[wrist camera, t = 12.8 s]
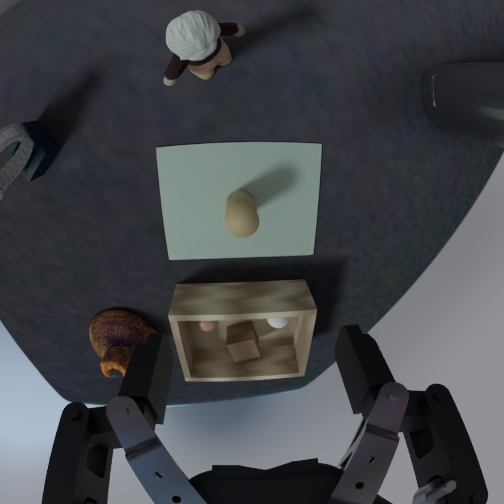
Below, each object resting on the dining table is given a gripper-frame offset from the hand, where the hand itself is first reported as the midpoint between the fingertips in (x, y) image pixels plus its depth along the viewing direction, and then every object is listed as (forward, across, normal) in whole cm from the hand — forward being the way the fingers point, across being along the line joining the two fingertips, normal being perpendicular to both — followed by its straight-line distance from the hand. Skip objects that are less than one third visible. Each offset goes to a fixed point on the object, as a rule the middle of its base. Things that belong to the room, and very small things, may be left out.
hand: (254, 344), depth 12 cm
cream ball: (+19, -4, +14) cm, 24 cm away
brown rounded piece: (+20, +19, +20) cm, 34 cm away
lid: (+20, 0, 0) cm, 20 cm away
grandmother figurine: (+20, +3, -15) cm, 25 cm away
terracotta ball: (+19, +5, +14) cm, 24 cm away
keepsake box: (+20, +1, +16) cm, 25 cm away
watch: (+20, +24, -9) cm, 33 cm away
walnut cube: (+19, +1, +18) cm, 26 cm away
